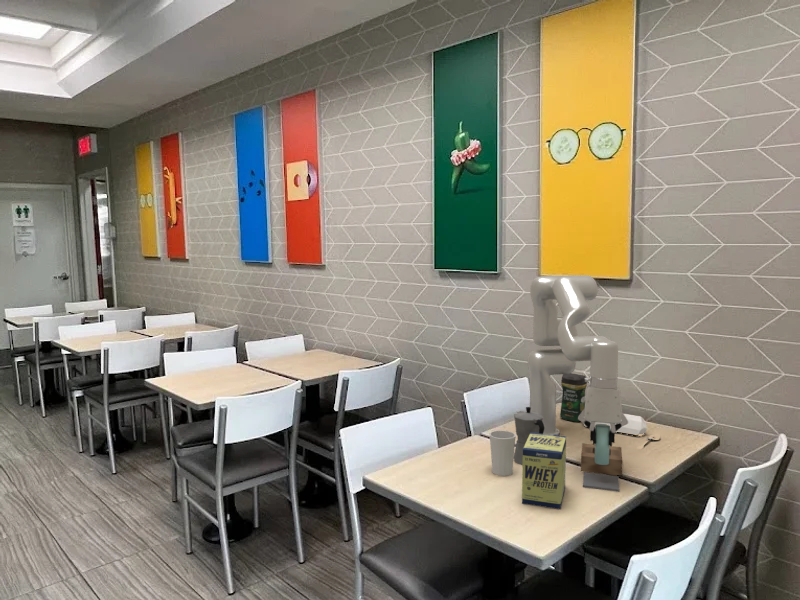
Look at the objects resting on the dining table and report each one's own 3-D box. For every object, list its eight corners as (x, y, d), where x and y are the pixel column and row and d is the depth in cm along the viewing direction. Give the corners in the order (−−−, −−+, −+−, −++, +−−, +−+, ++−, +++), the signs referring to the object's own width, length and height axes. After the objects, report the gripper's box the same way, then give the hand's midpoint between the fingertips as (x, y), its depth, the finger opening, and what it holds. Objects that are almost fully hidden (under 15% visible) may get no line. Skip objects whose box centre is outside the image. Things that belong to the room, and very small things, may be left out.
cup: (517, 468, 183) (517, 431, 182) (513, 478, 176) (513, 439, 175) (491, 465, 186) (492, 429, 185) (487, 475, 178) (487, 437, 177)
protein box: (521, 504, 158) (522, 448, 157) (529, 482, 173) (530, 431, 171) (561, 510, 155) (562, 453, 153) (565, 487, 169) (566, 435, 168)
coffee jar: (557, 419, 234) (558, 373, 233) (566, 414, 240) (567, 370, 238) (579, 424, 228) (580, 377, 226) (588, 419, 234) (589, 374, 232)
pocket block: (580, 471, 181) (581, 455, 180) (582, 457, 192) (582, 443, 191) (621, 476, 177) (622, 460, 176) (620, 462, 188) (621, 447, 187)
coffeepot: (504, 455, 194) (505, 403, 193) (529, 452, 198) (530, 400, 196) (529, 472, 180) (530, 416, 178) (555, 468, 183) (556, 412, 181)
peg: (594, 464, 170) (595, 427, 169) (594, 459, 174) (595, 423, 173) (609, 465, 169) (609, 428, 168) (608, 460, 172) (609, 424, 172)
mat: (582, 487, 169) (582, 485, 169) (583, 474, 178) (583, 472, 178) (619, 491, 166) (619, 489, 166) (618, 478, 175) (618, 476, 175)
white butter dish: (577, 418, 223) (642, 430, 208) (583, 405, 227) (647, 416, 213) (580, 432, 226) (645, 444, 212) (586, 419, 231) (649, 430, 217)
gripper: (572, 383, 168) (571, 445, 170) (635, 387, 163) (633, 451, 164) (574, 378, 175) (573, 437, 177) (633, 381, 170) (632, 442, 172)
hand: (602, 443), depth 171 cm, fingers closed on peg, 4 cm apart
